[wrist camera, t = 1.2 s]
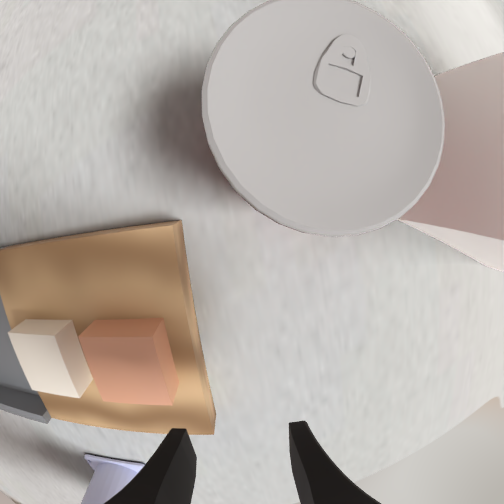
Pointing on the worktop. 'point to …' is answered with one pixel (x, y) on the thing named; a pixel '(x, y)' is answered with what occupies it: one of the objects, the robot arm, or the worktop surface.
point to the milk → (468, 165)
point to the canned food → (323, 115)
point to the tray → (16, 380)
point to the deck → (115, 314)
